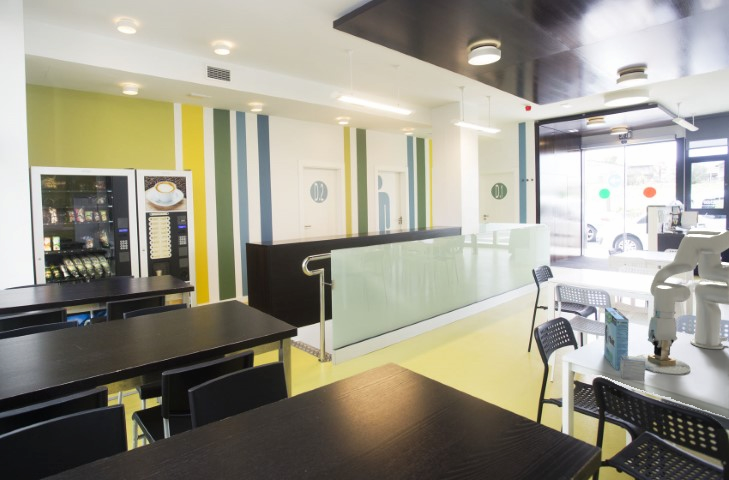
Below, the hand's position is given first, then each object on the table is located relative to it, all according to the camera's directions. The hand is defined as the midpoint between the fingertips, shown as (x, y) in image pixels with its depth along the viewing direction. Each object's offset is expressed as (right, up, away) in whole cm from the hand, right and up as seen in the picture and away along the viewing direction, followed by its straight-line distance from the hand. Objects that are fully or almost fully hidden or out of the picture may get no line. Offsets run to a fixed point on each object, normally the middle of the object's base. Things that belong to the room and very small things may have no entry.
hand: (661, 354), depth 182 cm
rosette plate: (0, -5, +1) cm, 5 cm away
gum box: (-18, -5, +5) cm, 19 cm away
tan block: (0, -2, 0) cm, 2 cm away
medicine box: (-20, -7, -11) cm, 24 cm away
